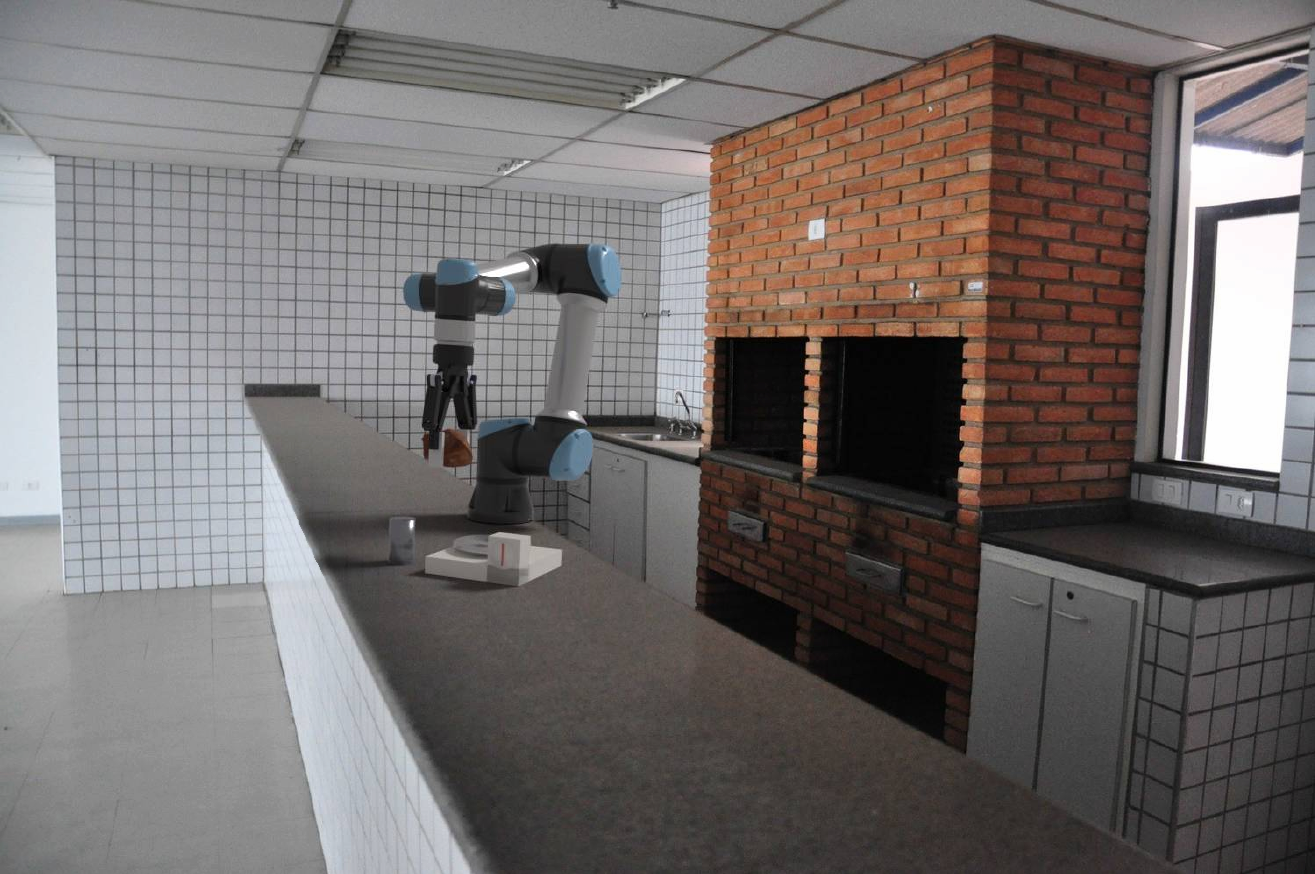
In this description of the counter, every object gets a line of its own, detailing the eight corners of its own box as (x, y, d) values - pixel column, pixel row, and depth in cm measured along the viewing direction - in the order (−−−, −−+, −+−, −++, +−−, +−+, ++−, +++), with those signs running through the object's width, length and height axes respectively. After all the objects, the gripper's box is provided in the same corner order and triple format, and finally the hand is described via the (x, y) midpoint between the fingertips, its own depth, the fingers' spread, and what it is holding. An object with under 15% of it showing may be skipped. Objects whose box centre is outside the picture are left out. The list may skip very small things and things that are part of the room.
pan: (476, 539, 191) (476, 531, 191) (543, 548, 187) (544, 540, 187) (438, 552, 178) (438, 544, 178) (509, 562, 174) (510, 554, 174)
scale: (474, 554, 192) (476, 512, 191) (561, 565, 187) (563, 523, 186) (423, 573, 175) (425, 528, 174) (517, 587, 169) (519, 540, 168)
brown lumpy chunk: (483, 452, 183) (456, 406, 184) (442, 473, 180) (415, 425, 181) (473, 469, 195) (448, 425, 196) (434, 489, 191) (409, 444, 192)
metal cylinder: (397, 558, 185) (398, 515, 184) (419, 561, 184) (420, 518, 183) (383, 563, 181) (384, 519, 180) (405, 566, 180) (406, 522, 179)
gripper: (466, 344, 197) (460, 458, 199) (403, 340, 178) (398, 468, 180) (499, 346, 195) (494, 462, 197) (440, 343, 175) (434, 472, 177)
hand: (448, 465), depth 188 cm, fingers closed on brown lumpy chunk, 8 cm apart
